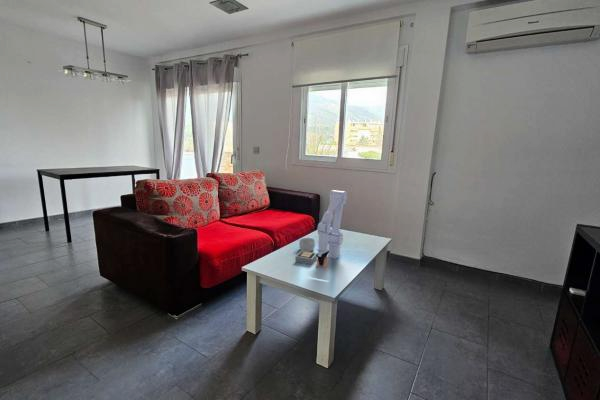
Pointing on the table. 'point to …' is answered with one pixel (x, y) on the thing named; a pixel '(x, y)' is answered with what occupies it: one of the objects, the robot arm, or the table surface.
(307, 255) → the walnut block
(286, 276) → the table surface
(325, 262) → the coral box
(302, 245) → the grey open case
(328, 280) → the table surface
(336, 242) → the robot arm
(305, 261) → the tote
